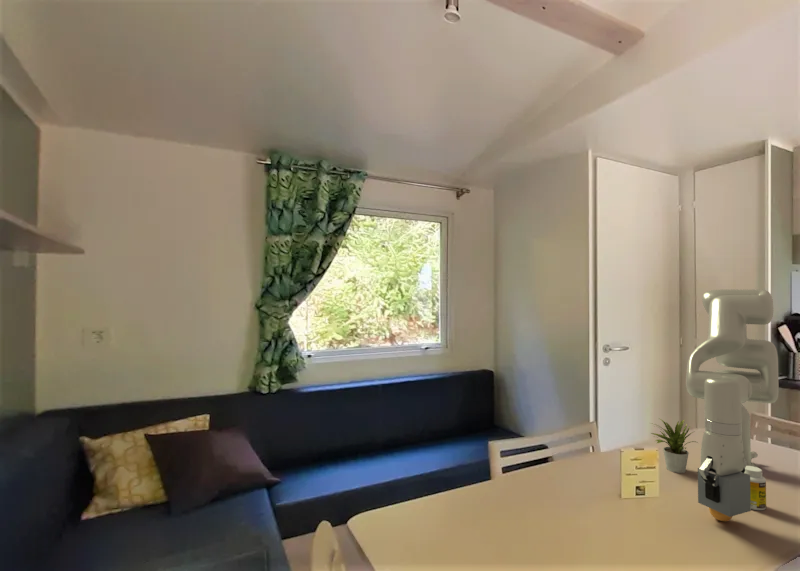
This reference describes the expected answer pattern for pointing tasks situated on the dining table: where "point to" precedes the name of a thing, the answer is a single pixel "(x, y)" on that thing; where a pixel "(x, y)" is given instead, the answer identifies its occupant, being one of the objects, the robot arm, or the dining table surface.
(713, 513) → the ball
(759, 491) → the supplement bottle
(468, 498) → the dining table surface
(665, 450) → the house plant
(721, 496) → the grey rectangular block
